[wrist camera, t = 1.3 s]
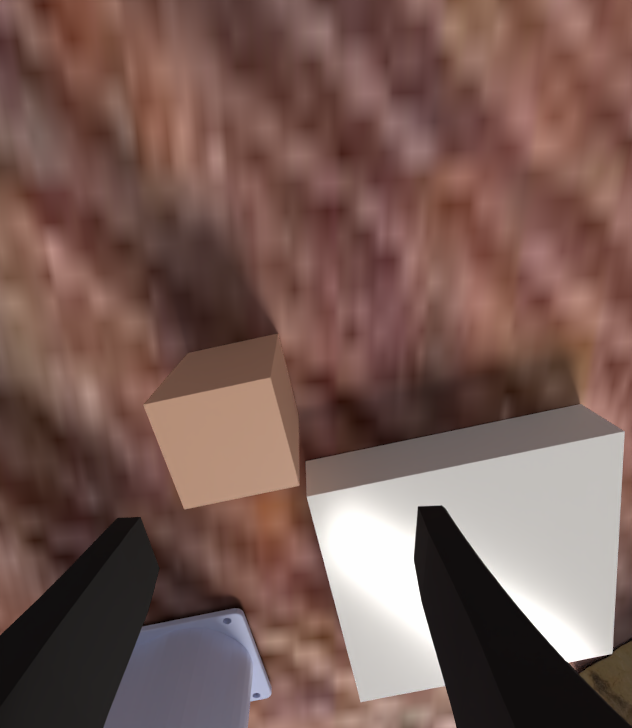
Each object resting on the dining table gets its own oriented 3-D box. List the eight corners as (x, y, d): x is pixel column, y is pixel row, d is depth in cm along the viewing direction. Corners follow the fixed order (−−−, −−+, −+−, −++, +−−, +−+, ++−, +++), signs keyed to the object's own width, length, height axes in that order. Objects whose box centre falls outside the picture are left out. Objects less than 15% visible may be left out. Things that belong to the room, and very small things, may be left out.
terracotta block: (214, 432, 21) (184, 509, 15) (188, 352, 19) (143, 404, 14) (298, 414, 21) (299, 485, 15) (278, 333, 19) (270, 377, 14)
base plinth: (353, 651, 26) (360, 701, 24) (305, 461, 22) (306, 496, 19) (578, 607, 26) (612, 653, 23) (580, 403, 21) (624, 431, 18)
